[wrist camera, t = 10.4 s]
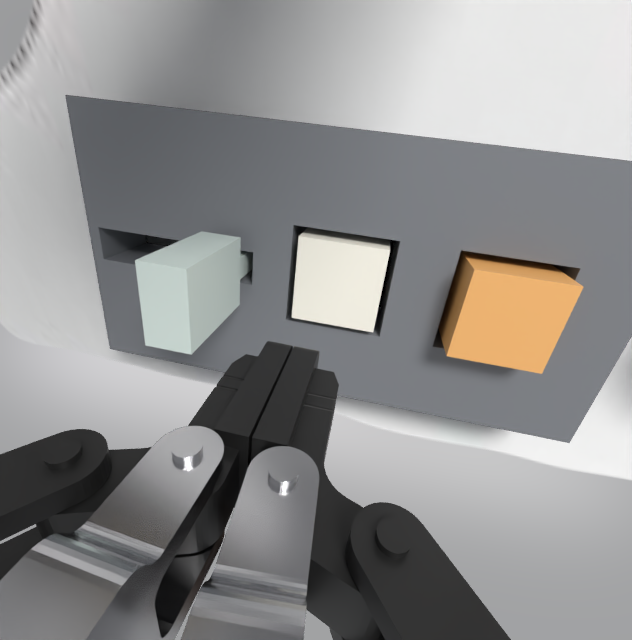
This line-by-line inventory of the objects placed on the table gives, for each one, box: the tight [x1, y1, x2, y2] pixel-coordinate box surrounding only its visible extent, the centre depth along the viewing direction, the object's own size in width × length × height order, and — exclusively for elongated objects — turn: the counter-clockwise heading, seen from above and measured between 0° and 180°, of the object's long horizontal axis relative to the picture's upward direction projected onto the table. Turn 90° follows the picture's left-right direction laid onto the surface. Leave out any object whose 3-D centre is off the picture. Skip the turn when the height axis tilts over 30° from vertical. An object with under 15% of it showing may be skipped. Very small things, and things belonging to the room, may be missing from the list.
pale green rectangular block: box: [135, 231, 253, 355], centre depth 18 cm, size 4×2×10 cm, turn 173°
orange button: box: [438, 250, 583, 374], centre depth 18 cm, size 4×4×4 cm
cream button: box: [292, 227, 390, 332], centre depth 20 cm, size 4×4×4 cm
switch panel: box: [66, 95, 632, 443], centre depth 20 cm, size 14×28×4 cm, turn 83°
